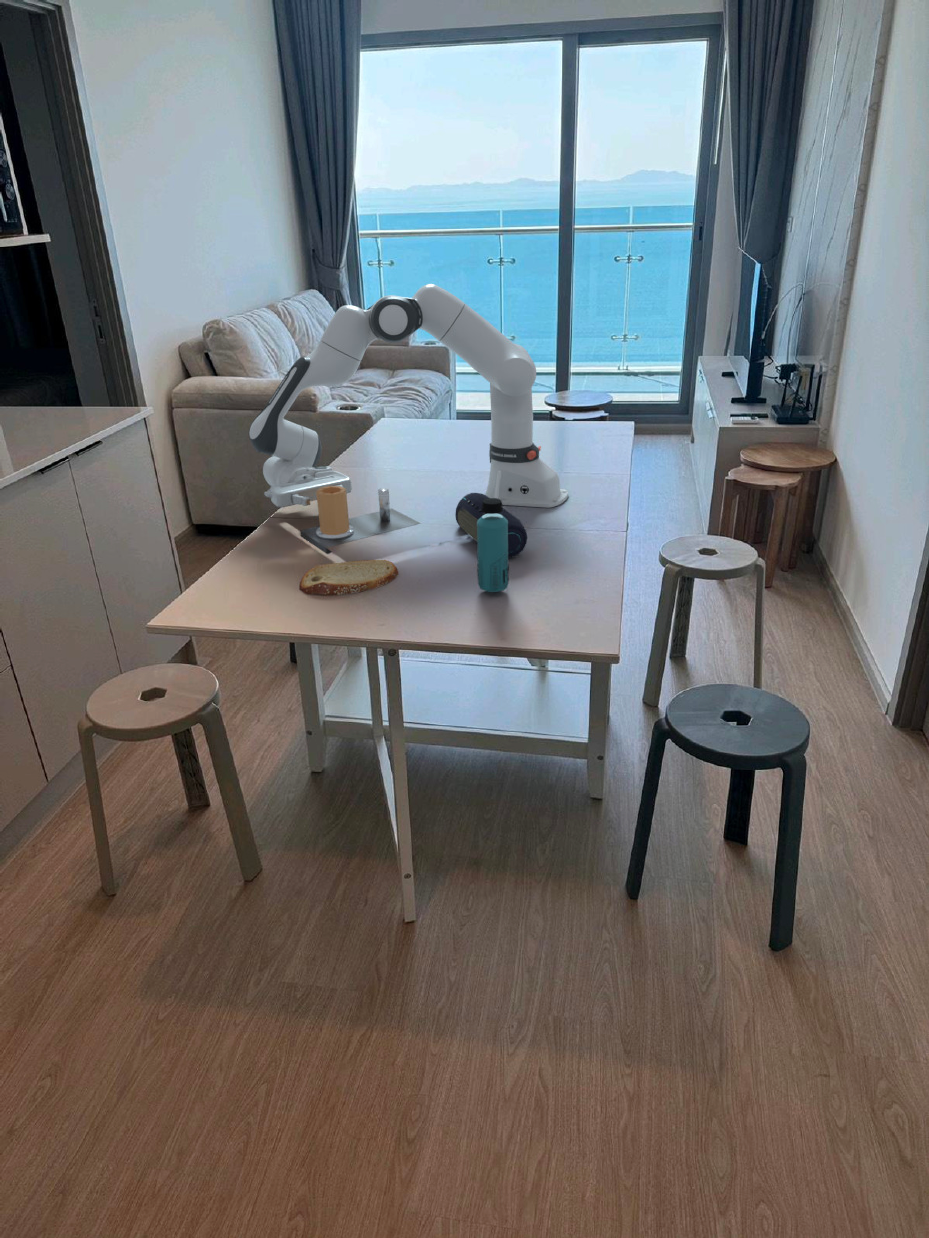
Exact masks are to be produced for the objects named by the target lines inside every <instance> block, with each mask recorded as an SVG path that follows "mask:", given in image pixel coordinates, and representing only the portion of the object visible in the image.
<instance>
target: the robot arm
mask: <svg viewBox="0 0 929 1238" xmlns="http://www.w3.org/2000/svg"><path fill="white" fill-rule="evenodd" d="M418 330H423V331H425V332H427V333H428V334H429V335H431V337H433V338H435V339H436V340H437V341H439V343H441V344H442V345H444V346H445V347H446V348H448V349H449V350H450V351H452V353H454V354H455V355H456V356H458V357H459V358H460V359H462V360H463V361H464V362H465V363H467V364H468V365H469V366H470V367H471V368H472V369H473V370H475V372H477V373H478V374H479V375H481V376H482V378H484V380H486V381H487V382H488V383H489V395H490V396H489V397H490V398H489V399H490V415H491V416H490V417H491V419H490V422H491V423H490V425H491V427H490V429H491V430H490V431H491V432H490V436H491V439H490V440H491V441H490V444H489V453H488V455H489V464H490V468H489V469H490V470H489V478H488V484H487V488H486V491H485V495H486V496H488V497H489V498H497V499H500V500H501V501H502V506H515V507H517V506H519V507H533V508H547V509H549V508H554V507H556V506H559V505H561V504H562V503H564V502H565V501H566V500H567V499H568V498H569V492H568V490H567V489H564V488H561V484H560V477H559V474H558V472H557V471H556V470H554V469H553V468H552V467H550V466H549V465H548V464H547V463H546V462H544V460H542V459H541V458H540V451H542V449H541V448H542V446H541V445H539V446H537V445H536V444H535V443H534V442H533V441H534V439H533V435H534V434H533V433H534V432H533V429H534V409H533V386H534V384H535V381H536V378H537V368H536V364H535V362H534V361H533V358H532V356H530V354H529V352H528V351H527V350H526V348H524V346H522V345H520V344H518V343H513V341H511V340H510V339H509V338H508V337H507V336H506V335H504V334H503V333H502V332H501V331H499V330H498V329H497V327H495V326H494V325H493V324H491V322H489V321H488V320H487V319H485V318H484V317H483V316H482V315H480V314H479V313H478V312H477V311H476V310H474V309H473V308H472V307H470V306H469V305H468V304H467V303H465V302H464V301H463V300H462V299H460V298H458V297H457V296H455V295H454V294H453V293H451V292H449V291H448V290H446V289H444V288H442V287H440V286H439V285H437V284H434V283H428V284H427V283H426V284H425V285H423V286H421V287H420V288H418V290H417V291H416V292H415V293H414V295H412V297H406V296H400V295H399V296H398V295H393V294H391V295H385V296H382V297H380V298H379V299H377V300H376V301H375V302H374V304H372V305H371V306H369V307H368V308H367V309H363V308H361V307H359V306H356V305H351V304H346V305H342V306H340V307H339V308H338V309H337V310H336V312H335V313H334V315H332V317H331V319H330V321H329V322H328V324H327V326H326V328H325V330H324V331H323V334H322V336H321V337H320V340H319V343H317V346H316V347H315V348H314V349H313V350H312V352H310V353H309V354H308V355H306V356H301V357H299V358H297V360H296V361H295V362H294V363H293V365H291V367H290V368H289V369H288V371H287V372H286V374H285V376H284V377H283V378H282V380H281V382H280V383H279V385H278V386H277V388H276V389H275V391H274V392H273V394H272V396H271V397H270V399H269V400H268V401H267V403H266V405H265V406H264V408H263V409H262V410H261V411H260V413H258V415H257V416H256V417H255V418H254V420H253V421H252V423H251V424H250V426H249V430H248V438H249V442H250V443H251V445H252V447H253V449H254V450H255V451H256V452H257V453H261V454H263V455H267V456H271V457H269V458H268V459H266V461H265V462H264V463H263V467H262V472H263V473H262V474H263V476H264V479H265V481H266V482H267V484H268V485H269V486H270V488H269V489H268V490H267V491H264V496H265V497H267V498H269V499H271V502H272V504H273V505H275V507H277V508H287V507H291V506H295V505H299V506H303V507H306V506H311V502H313V501H317V493H316V491H317V490H318V489H320V488H322V487H327V486H341V487H343V488H345V489H346V494H350V493H352V490H353V485H352V479H351V477H349V476H348V475H346V474H344V473H342V472H340V471H338V470H333V468H332V467H331V466H328V465H327V466H326V465H325V466H317V465H318V463H319V461H320V459H321V455H322V451H323V450H322V449H323V448H322V443H321V438H320V436H319V434H318V433H317V431H316V430H313V429H311V428H308V427H305V426H304V425H301V424H297V423H295V422H292V421H289V420H287V419H285V416H286V415H287V413H288V412H289V410H290V408H291V407H292V406H293V404H294V403H295V400H296V399H297V398H298V396H299V395H300V393H301V392H302V391H304V390H306V389H309V388H310V387H311V388H312V387H334V386H335V387H336V386H340V385H343V384H345V383H348V382H349V381H350V380H351V379H352V378H353V377H354V376H355V374H356V372H357V370H358V369H359V366H360V364H361V361H362V360H363V357H364V355H365V352H366V351H367V349H368V348H369V346H370V345H371V344H372V343H373V342H374V341H376V340H381V341H383V342H386V343H389V344H398V343H401V342H404V341H405V340H406V339H408V338H409V337H411V336H412V334H414V333H415V332H416V331H418Z"/></svg>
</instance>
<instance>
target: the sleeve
mask: <svg viewBox="0 0 929 1238" xmlns="http://www.w3.org/2000/svg"><path fill="white" fill-rule="evenodd" d="M316 493H317V500H316V501H317V510H318V521H319V526H320V531H321V532H322V533H324V534H325V535H339V534H343V533H346V532H347V531H348V530H349V519H350V518H349V510H348V509H349V508H348V496H347V494H348V493H346V489H345V488H343V487H341V486H327V487H322V488H320V489H318V490H317V491H316Z"/></svg>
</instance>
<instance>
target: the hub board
mask: <svg viewBox="0 0 929 1238" xmlns="http://www.w3.org/2000/svg"><path fill="white" fill-rule="evenodd" d="M377 493H378V494H377V495H378V496H377V497H378V506H379V507H378V508H379V510H378V511H375V512H371V513H368V514H367V513H366V514H363V515H358V516H354V517H351V518H349V530H348V531H347V532H346V533H343V534H339V535H325V534H324V533H322V532H321V531H320V525H317V526H314V527H309V528H305V529H301V530H299V535H300V537H301V538H302V537H303V538H302V539H304V540H306V542H308V541H309V543H310V544H312V545H313V546H314V547H316V548H317V549H319V550H321V551H322V552H323V553H325V554H331V553H333V551H332V550H330V549H329V548H330V547H335V546H338V545H342V544H345V543H350V542H354V541H355V542H356V541H358V540H362V539H366V538H370V537H373V536H377V535H380V534H381V535H382V534H384V533H390V532H392V531H397V530H401V529H405V528H408V527H413V526H416V525H420V524H421V522H419V521H417V520H416V519H413V518H412V517H409V516H408V515H405V514H403V513H402V512H399V511H398V510H396V509H394V508H391V505H390V490H389V488H386V487H383V488H379V489H378V490H377Z"/></svg>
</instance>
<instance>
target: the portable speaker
mask: <svg viewBox="0 0 929 1238" xmlns="http://www.w3.org/2000/svg"><path fill="white" fill-rule="evenodd" d="M488 498H489V497H488V496H486V494H484V493H479V492H469V493H467V494H465V495H464V496H462V498H461V499H460V500H459V501H458V503H457V504H456V508H455V514H454V515H455V521H456V523H457V525H458V526H459V527H460V528H461V530H463V531H464V532H465V533H466V534H467V535H469V536H470V537H471V538H472V539H473V540H474V541H475V542H476V543H478V541H477V521H478V520H479V519H480V518H481V517H482V516H483V515H485V514H488V513H484V512H482V502H483V500H485V499H488ZM496 514H500V515H502V516H503V517H505V518H506V519H507V521H508V547H509V548H508V558H509V559H511V558H514V557H515V556H518V555H519V554H520V553H522V552H523V551H524V549H525V548H526V545H527V543H528V534H527V530H526V527H525V526H524V525H523V523H522V522H521V520H520V519H519V518H517V516H514V514H512V513H510V512H509V511H508V510H506V509H505V508H504V507H503V511H502V512H500V513H496Z"/></svg>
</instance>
